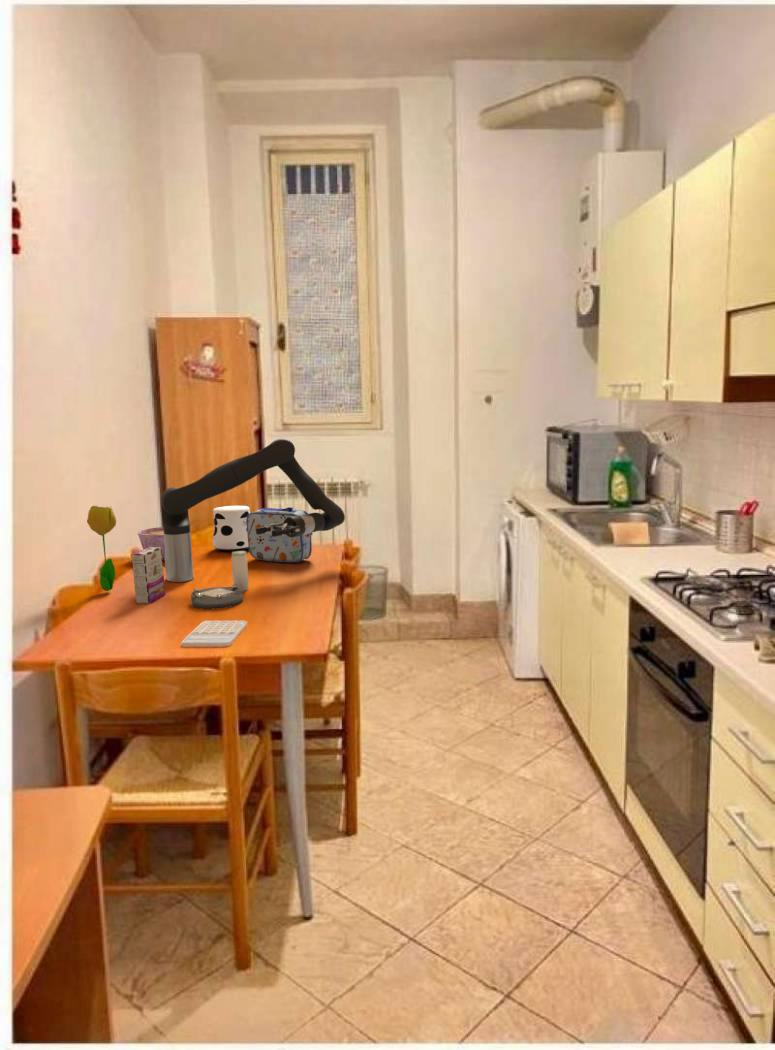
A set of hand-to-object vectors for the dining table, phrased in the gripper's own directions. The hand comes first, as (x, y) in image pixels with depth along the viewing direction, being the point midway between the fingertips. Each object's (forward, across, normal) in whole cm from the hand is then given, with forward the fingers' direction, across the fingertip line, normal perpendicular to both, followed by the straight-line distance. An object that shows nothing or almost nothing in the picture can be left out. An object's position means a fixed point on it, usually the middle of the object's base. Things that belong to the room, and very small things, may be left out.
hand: (264, 532), depth 265 cm
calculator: (+48, +35, +18) cm, 62 cm away
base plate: (+27, +7, +18) cm, 33 cm away
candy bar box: (+38, -14, +18) cm, 44 cm away
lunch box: (-28, -24, +18) cm, 41 cm away
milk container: (-30, -59, +18) cm, 69 cm away
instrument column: (+12, 0, +18) cm, 21 cm away
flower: (+42, -34, +17) cm, 57 cm away
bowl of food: (-2, -68, +18) cm, 70 cm away
